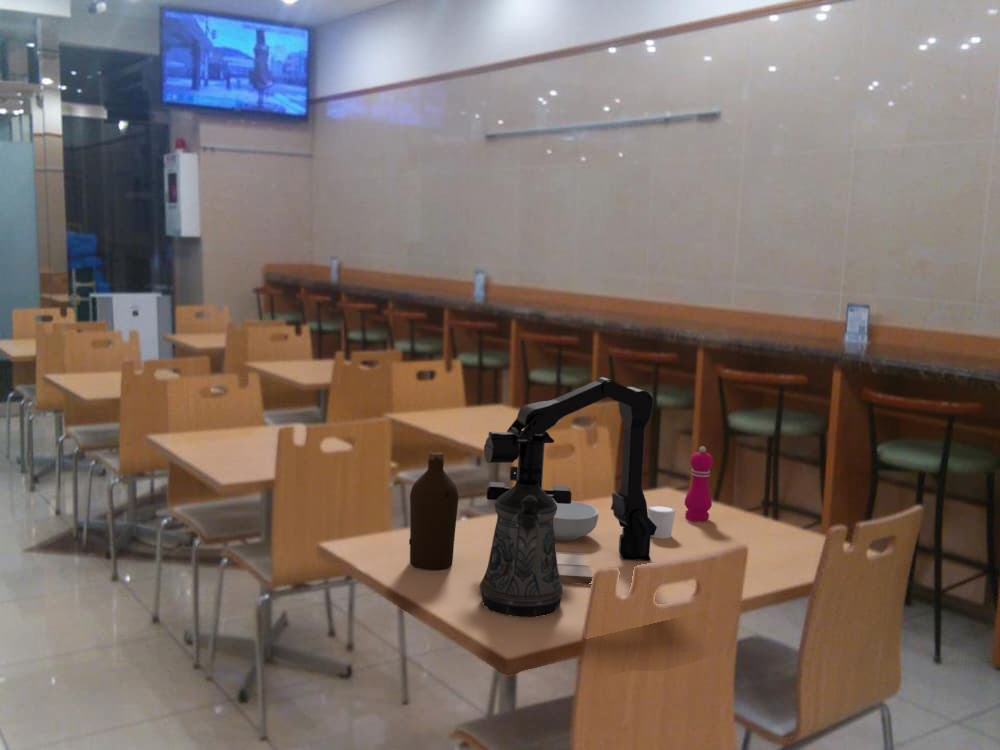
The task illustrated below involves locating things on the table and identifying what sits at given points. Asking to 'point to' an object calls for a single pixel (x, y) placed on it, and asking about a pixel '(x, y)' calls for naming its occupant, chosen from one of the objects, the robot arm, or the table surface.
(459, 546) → the table surface
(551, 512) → the ornate coffee pot
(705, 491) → the pepper mill
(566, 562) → the plank
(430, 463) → the olive oil
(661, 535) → the shot glass
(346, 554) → the table surface
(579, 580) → the laid board
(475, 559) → the table surface
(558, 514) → the cereal bowl
